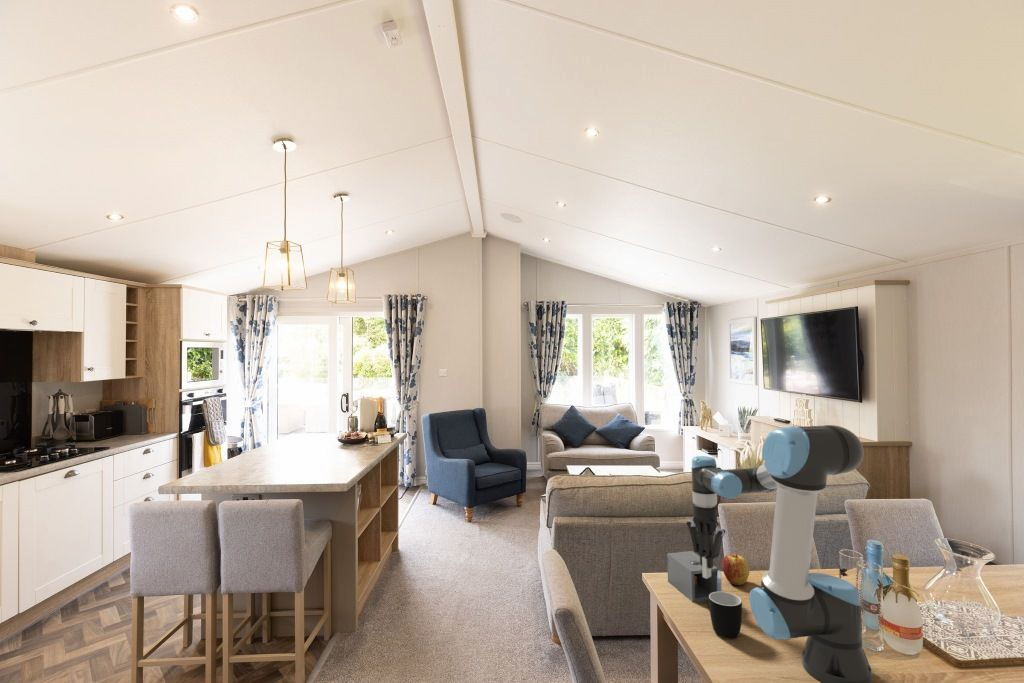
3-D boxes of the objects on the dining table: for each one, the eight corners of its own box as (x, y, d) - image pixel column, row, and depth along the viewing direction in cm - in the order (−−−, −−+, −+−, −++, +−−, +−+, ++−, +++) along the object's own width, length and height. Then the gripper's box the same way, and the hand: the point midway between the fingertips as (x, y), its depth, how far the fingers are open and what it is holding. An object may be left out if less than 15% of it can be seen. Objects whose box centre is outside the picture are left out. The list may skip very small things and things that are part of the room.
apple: (722, 576, 185) (721, 548, 186) (748, 579, 182) (747, 551, 182) (723, 586, 177) (722, 557, 177) (751, 590, 174) (750, 560, 174)
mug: (750, 639, 143) (748, 603, 144) (723, 644, 141) (722, 607, 142) (722, 618, 155) (720, 585, 155) (697, 623, 153) (696, 589, 153)
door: (723, 597, 167) (722, 570, 168) (723, 612, 158) (722, 583, 158) (718, 596, 168) (717, 569, 168) (718, 611, 158) (717, 582, 159)
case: (719, 598, 168) (718, 567, 168) (692, 602, 166) (691, 570, 166) (692, 578, 184) (691, 550, 184) (667, 581, 182) (666, 553, 182)
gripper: (729, 506, 161) (732, 580, 161) (694, 497, 172) (695, 567, 171) (716, 511, 157) (719, 587, 156) (680, 502, 167) (682, 573, 167)
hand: (706, 576), depth 164 cm, fingers closed
